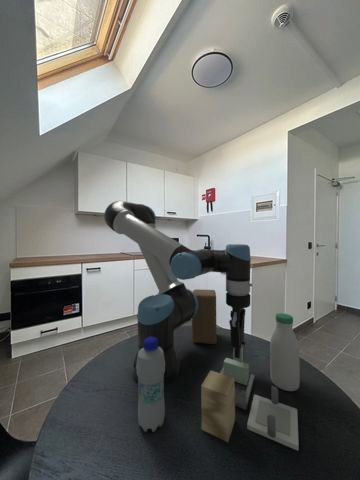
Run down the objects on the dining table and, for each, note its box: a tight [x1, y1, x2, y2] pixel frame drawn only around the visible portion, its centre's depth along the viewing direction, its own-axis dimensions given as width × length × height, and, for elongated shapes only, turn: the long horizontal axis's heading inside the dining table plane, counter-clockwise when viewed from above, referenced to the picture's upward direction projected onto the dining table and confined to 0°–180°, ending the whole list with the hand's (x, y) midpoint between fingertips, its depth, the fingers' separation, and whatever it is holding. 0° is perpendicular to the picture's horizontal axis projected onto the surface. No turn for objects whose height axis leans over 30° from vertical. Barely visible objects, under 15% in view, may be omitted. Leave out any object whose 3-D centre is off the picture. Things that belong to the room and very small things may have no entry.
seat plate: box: [246, 385, 299, 452], centre depth 48 cm, size 10×11×4 cm
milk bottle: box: [269, 312, 301, 392], centre depth 60 cm, size 8×8×20 cm
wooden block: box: [191, 288, 218, 345], centre depth 87 cm, size 10×10×20 cm
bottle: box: [136, 337, 166, 433], centre depth 47 cm, size 7×7×20 cm
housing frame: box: [219, 365, 255, 411], centre depth 59 cm, size 10×13×4 cm
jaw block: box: [200, 370, 236, 443], centre depth 47 cm, size 6×6×10 cm
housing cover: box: [223, 357, 250, 386], centre depth 62 cm, size 7×3×5 cm, turn 61°
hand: (238, 365), depth 65 cm, fingers closed
